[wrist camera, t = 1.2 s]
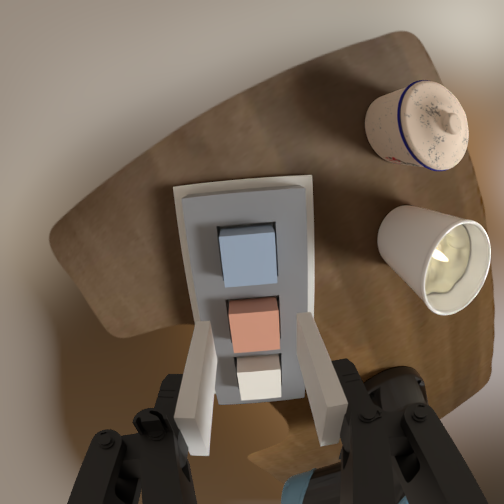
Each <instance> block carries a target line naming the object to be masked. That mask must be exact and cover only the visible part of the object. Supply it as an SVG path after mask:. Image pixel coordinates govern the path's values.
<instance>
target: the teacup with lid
mask: <svg viewBox="0 0 504 504" xmlns="http://www.w3.org/2000/svg"><path fill="white" fill-rule="evenodd" d="M466 118H467V117H466V114H465V112H464V111H463V108H462V106H461V105H460V103H459V101H458V100H457V99H456V97H455V96H454V95H453V94H452V93H451V92H450V91H449V90H448V89H447V88H445V87H444V86H442V85H440V84H438V83H436V82H433V81H428V80H420V81H416V82H413V83H412V84H410V85H409V86H408V87H406V88H403V89H400V90H397V91H394V92H392V93H389V94H386V95H383V96H381V97H379V98H377V99H376V100H374V101H373V102H372V103H371V105H370V106H369V108H368V110H367V113H366V117H365V131H366V135H367V138H368V141H369V143H370V145H371V146H372V148H373V149H374V151H375V152H376V153H377V154H378V155H379V156H380V157H381V158H383V159H384V160H386V161H388V162H391V163H394V164H403V165H412V166H421V167H425V168H427V169H430V170H433V171H445V170H448V169H450V168H452V167H454V166H455V165H456V164H458V162H459V161H460V160H461V159H462V157H463V156H464V154H465V151H466V149H467V144H468V135H469V132H468V124H467V119H466Z"/></svg>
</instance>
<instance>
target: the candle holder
mask: <svg viewBox="0 0 504 504" xmlns="http://www.w3.org/2000/svg"><path fill="white" fill-rule="evenodd" d="M377 243H378V249H379V252H380V255H381V257H382V258H383V260H384V261H385V262H386V263H387V264H388V265H389V266H390V267H391V268H392V269H393V270H394V271H395V272H396V273H397V274H398V275H399V276H400V277H401V278H402V279H403V280H404V281H405V283H406V284H407V285H408V286H409V287H410V288H411V289H412V290H413V291H414V292H415V293H416V294H417V295H418V296H419V297H420V298H421V299H422V300H423V302H424V303H425V304H426V306H427V307H428V308H429V309H430V310H431V311H432V312H434V313H436V314H439V315H450V314H454V313H456V312H458V311H460V310H462V309H463V308H464V307H466V306H467V305H468V304H469V303H470V302H471V301H472V300H473V299H474V298H475V296H476V295H477V294H478V292H479V291H480V289H481V287H482V285H483V283H484V281H485V279H486V276H487V273H488V270H489V265H490V259H491V247H490V241H489V238H488V235H487V233H486V231H485V230H484V228H483V227H482V226H481V225H480V224H479V223H477V222H475V221H473V220H467V219H463V218H459V217H456V216H452V215H448V214H445V213H441V212H437V211H433V210H429V209H425V208H421V207H417V206H412V205H403V206H399V207H397V208H395V209H393V210H392V211H391V212H389V213H388V214H387V216H386V217H385V218H384V220H383V221H382V223H381V225H380V228H379V231H378V238H377Z"/></svg>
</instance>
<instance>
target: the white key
mask: <svg viewBox="0 0 504 504" xmlns="http://www.w3.org/2000/svg"><path fill="white" fill-rule="evenodd" d="M237 376H238V383H239V389H240V395H241V401H242V400H257V399H268V398H278V397H281V368H280V363H279V357H278V353H277V354H267V355H255V356H242V357H237Z"/></svg>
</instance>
